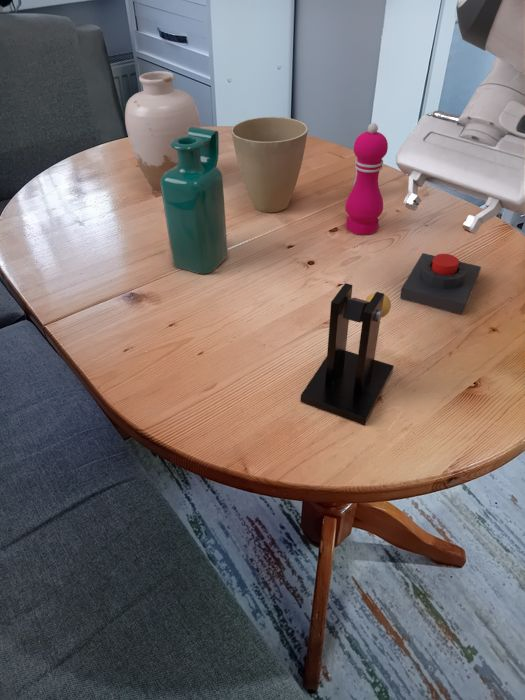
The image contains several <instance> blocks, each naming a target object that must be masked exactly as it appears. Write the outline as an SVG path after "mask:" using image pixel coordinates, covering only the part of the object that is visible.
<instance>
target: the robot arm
mask: <svg viewBox="0 0 525 700" xmlns="http://www.w3.org/2000/svg"><path fill="white" fill-rule="evenodd" d="M455 11H456V19H457V24H458V30H459V33H460V36H461V38H462V39H461V40H462V41H464V42H466V43H469V44H470V45H471V46H472V45H473V46H474V47H476V48H478V49H480V50H482V51H484V52H485V51H487V52H488V53H490V54H491V55H493V56H494V59H493V62H492V65H491V69H490V71H489V73H488V75H487V76H486V77H485V78H484V80H483V81H482V82H480V84H478V86H477V88H476V89H475V90H474V92H473V94H472V95H471V97H470V99H469V100H468V103H467V104H466V106H465V108H464V109H463V111H462V112H461V114H460V115H458V114H457V115H456V114H452V113H447V112H444V111H441V110H434V111H433V112H429V113H426V114H424V115H423V116H421V117H420V118H419V120H418V122H417V123H416V125H415V127H414V128H413V130H412V131H411V132H410V134H408V136H407V137H406V139H405V140H404V142H403V143H402V144H401V146H400V147H399V149H398V150H397V152H396V154H395V164H396V166H397V167H398V169H399V170H400V171H401V172H402V173H403V174H404V175H408V183H407V184H408V185H407V186H408V189H407V191H408V193H406V196H405V197H404V200H403V201H402V204H403V206H404V207H405V209H408V210H412V211H414V212H415V211H416V210H417V209H418V206H419V205H420V204H421V202H422V199H421V198H420V196H419V195H418V189H419V187H420V188H423V186H424V184H425V183H426V182H428V183H431V184H433V185H437V186H440V187H442V188H445V189H448V190H451V191H453V192H455V193H456V192H457V193H459V194H462V195H464V196H467V197H470V198H473V199H476V200H478V201H482V202H485V203H484V205H485V208H484V209H483V210H482V211H480V212H479V213H477V214H475V215H473V214H468V215H467V217H466V221H464V222H463V224H462V229H463V230H464V231H465V232H467V233H470V234H472V235H476V234H477V233H478V231H479V229H481V226H482V225H483V224H486V223H487V222H489V221H490V220H492V219H494V218H495V217H497V216H498V215H499V214H500V212H501V211H502V209H505V210H508V211H511V212H514V213H517V214H519V215H523V216H524V215H525V0H459V1H458V2H457V4H456V9H455Z"/></svg>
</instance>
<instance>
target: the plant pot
mask: <svg viewBox="0 0 525 700" xmlns="http://www.w3.org/2000/svg"><path fill="white" fill-rule="evenodd" d="M308 131H309V127H308V125H307V124H306V123H305V122H303V121H302V120H301V121H300V120H298V119H295V118H291V117H284V116H261V117H254V118H250V119H249V118H248V119H245V120H243V121H240V122H238V123H235V124H234V125H233V126H232V128H231V132H230V133H231V137H232V142H233V147H234V151H235V156H236V160H237V164H238V168H239V171H240V174H241V177H242V181H243V184H244V187H245V189H246V192H247V194H248V196H249V199H250V201H251V203H252V205H253V207H254V208H255V209H256V210H257V211H260V212H263V213H278V212H281V211H283V210H285V209H287V208H288V206H289V204H290V201H291V199H292V196H293V194H294V192H295V188H296V186H297V181H298V179H299V175H300V172H301V168H302V164H303V160H304V154H305V149H306V144H307V138H308V137H307V136H308Z"/></svg>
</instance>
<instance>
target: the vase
mask: <svg viewBox="0 0 525 700" xmlns="http://www.w3.org/2000/svg"><path fill="white" fill-rule="evenodd" d="M174 80H175V74H174V73H172V72H170V71H163V70H159V71H156V70H155V71H149V72H148V71H147V72H145V73H142V74H141V75H140V76H139V77H138V81H139V82H140V83H141V86H142V90H141V91H139V92H136V93H134V94H132V95H131V97H129V98H128V100H127V101H126V105H125V110H124V124H125V129H126V134H127V136H128V141H129V144H130V147H131V149H132V153H133V156H134V158H135V160H136V163H137V165H138V167H139V168H140V171H141V172H142V174H143V177H144V178H145V179H146V181H147V183H148V184H149V186H151V188H152V189H154V190H155V191H159V192H162V190H161V183H160V182H161V178H162V176H163V174H164V173H165V172H167V171H168V170H170V169H172V168H173V167H175V166H176V165H178V156H177V150H175V149H173V148H172V147H171V145H170V144H171V142H172V141H173V140H174V139H176V138H179V137H184V136H188V130H189V128H190V127H196V128H201V120H200V114H199V109H198V106H197V103H196V102H195V99H194V98H193V97H192V95H190V94H189V93H188V92H186V91H185V90H182V89H178V88H174Z"/></svg>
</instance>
